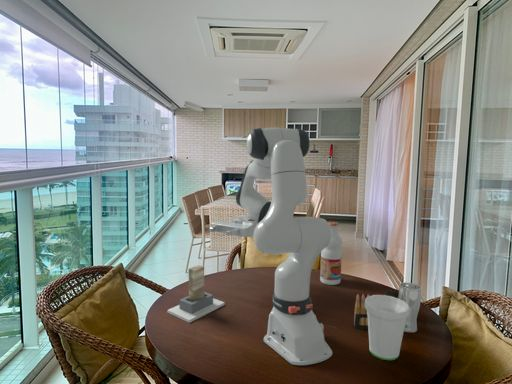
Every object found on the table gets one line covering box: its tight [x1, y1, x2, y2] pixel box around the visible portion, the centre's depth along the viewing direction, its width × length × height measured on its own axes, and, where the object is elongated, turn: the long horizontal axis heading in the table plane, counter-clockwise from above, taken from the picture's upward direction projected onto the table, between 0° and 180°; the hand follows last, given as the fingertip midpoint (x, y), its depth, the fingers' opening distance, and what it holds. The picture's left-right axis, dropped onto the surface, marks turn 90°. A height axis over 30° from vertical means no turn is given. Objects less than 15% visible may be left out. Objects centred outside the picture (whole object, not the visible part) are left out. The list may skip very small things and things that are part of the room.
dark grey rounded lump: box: [384, 288, 399, 298], centre depth 125 cm, size 8×7×8 cm
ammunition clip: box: [352, 293, 375, 330], centre depth 114 cm, size 11×2×12 cm, turn 87°
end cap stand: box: [166, 291, 226, 324], centre depth 127 cm, size 12×18×4 cm, turn 143°
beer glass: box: [398, 281, 422, 334], centre depth 114 cm, size 7×7×15 cm
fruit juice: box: [319, 221, 343, 286], centre depth 155 cm, size 9×9×28 cm
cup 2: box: [365, 294, 410, 361], centre depth 100 cm, size 12×12×15 cm
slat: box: [188, 265, 205, 302], centre depth 126 cm, size 3×5×15 cm, turn 142°
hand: (219, 231), depth 133 cm, fingers open, 8 cm apart
